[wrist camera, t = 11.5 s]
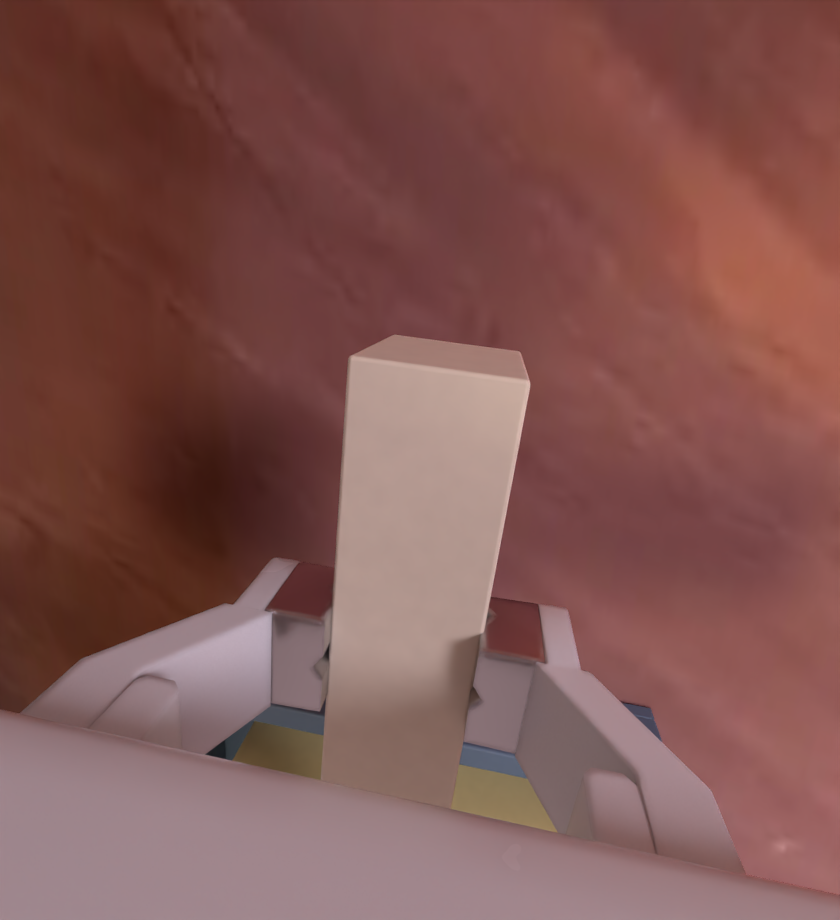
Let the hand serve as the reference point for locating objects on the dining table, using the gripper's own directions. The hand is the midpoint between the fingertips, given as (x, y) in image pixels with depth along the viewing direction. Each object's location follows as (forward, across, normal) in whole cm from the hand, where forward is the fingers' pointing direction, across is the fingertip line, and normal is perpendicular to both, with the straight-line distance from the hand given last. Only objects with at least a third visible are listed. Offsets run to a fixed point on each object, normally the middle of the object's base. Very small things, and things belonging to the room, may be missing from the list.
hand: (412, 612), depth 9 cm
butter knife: (+2, 0, +6) cm, 6 cm away
